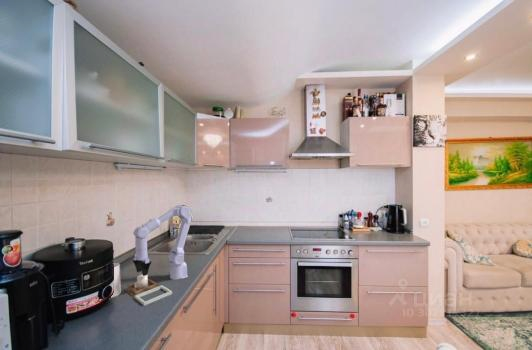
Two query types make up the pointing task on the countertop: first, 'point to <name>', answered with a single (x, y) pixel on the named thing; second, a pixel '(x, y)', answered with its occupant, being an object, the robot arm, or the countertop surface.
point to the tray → (153, 298)
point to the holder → (134, 291)
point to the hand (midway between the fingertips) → (142, 273)
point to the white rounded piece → (141, 282)
